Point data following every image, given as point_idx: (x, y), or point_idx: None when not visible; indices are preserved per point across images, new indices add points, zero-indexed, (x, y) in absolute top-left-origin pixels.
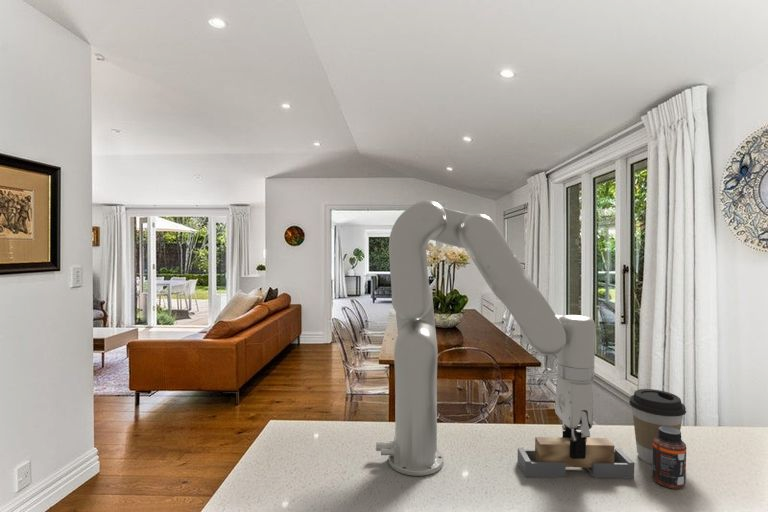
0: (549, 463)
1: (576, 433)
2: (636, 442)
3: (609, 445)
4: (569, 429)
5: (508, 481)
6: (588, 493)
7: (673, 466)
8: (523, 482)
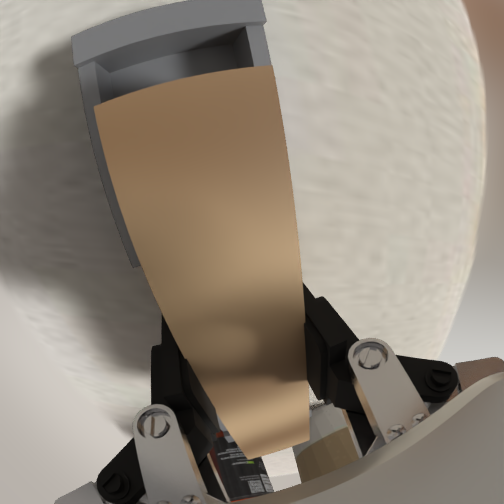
0: (100, 175)
1: (318, 396)
2: (345, 425)
3: (244, 454)
4: (337, 389)
5: (57, 10)
6: (65, 306)
7: None
8: (53, 60)
